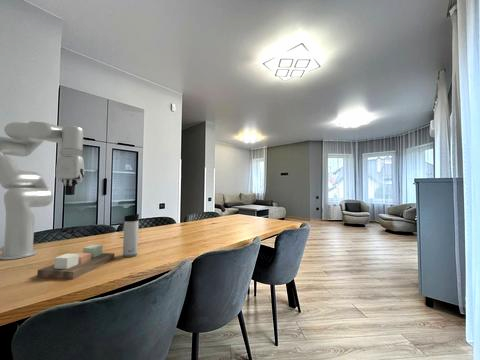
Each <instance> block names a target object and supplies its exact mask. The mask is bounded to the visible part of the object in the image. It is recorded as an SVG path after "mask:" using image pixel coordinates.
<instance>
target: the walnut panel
mask: <svg viewBox="0 0 480 360" xmlns="http://www.w3.org/2000/svg"><path fill="white" fill-rule="evenodd" d="M113 260H115V252H114V253H113V252H110V253H109V252H102V255H99V256H97V257H95V258H91V260H89V261H86V262H84V263H82V264H80V263H78V265H76V266H73V267H71V268H68V269H54V264H55V263H52V264H49V265H47V266H45V267H41V268H39V269H37V273H36V277H37V278H50V279H65V280H66V279H67V280H74V279H77V278H78V277H80V276H83V275H84V274H86V273H88V272H91V271H93V270H95V269H96V268H99V267H100V266H103V265H105V264H107V263H109V262H111V261H113Z"/></svg>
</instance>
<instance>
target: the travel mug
mask: <svg viewBox="0 0 480 360" xmlns="http://www.w3.org/2000/svg"><path fill="white" fill-rule="evenodd" d="M139 215H140V214H139V213H136V214H127V215H124V223H123V240H122V241H123V243H122V249H123V250H122V257H125V258H132V257H136V256H137V255H138V249H139V248H138V246H139V245H138V243H139Z"/></svg>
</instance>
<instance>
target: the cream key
mask: <svg viewBox="0 0 480 360" xmlns="http://www.w3.org/2000/svg"><path fill="white" fill-rule="evenodd" d="M78 257H79V254H78V253H64V254H61V255H58V256H56V257H54V263H53V264H54V269H68V268H71V267H73V266H76V265H78Z"/></svg>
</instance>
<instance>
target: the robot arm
mask: <svg viewBox="0 0 480 360" xmlns="http://www.w3.org/2000/svg"><path fill="white" fill-rule="evenodd" d="M3 130H4V133H5V135H6V136H0V187H2V188H3V189H4V190H6V192H5V193H4V195H3V203H4V208H5V224H4V225H5V228H4V242H3V243H4V244H3V246H2V247H0V252H1V254H0V260H17V259H22V258H27V257H31V256H35V255H36V254H38V250H37V249H35V248H34V236H35V235H34V234H35V215H34V213H33V211H32V210H31V208H40V207H47V206H49V205H51V203H53V200H54V194H53V192H52V190H51V188H50V186H49V184H48V182H46V180H45V178H44V176H43V175H42V174H40V173H38V172H35V171H31V170H30V171H28V170H21V169H20V168H19V166H18V164H17V163H16V162H15V160H13V159H12V158H11V157H9V156H14V157H28V156H30V155H31V154H32V153H33V152H34V151H35V150H36V149H37V148H39V146H41V145H42V143H44V142H45V141H46V142H52V143H56V144H60V151H59V154H60V155H59V156H58V159H57V162H56V166H55V178H56V179H58V180H57V181H58V182H61V183H62V184H63V186H64V188H65V189H64V196H75V190H76V187H77V185H78V183H82V182H83V180H84V178H85V163H84V162H85V160H84V157H83V148H84V145H83V144H84V130H83V128H82V127H80V126H77V125H72V124H66V125H65V124H64V125H63V126H59V125H55V124H53V123H49V122H45V121H44V122H43V121H34V120H33V121H28V122H19V121H18V122H17V121H13V122H9V123H7V124H6V125H5V126H4V129H3Z"/></svg>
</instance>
